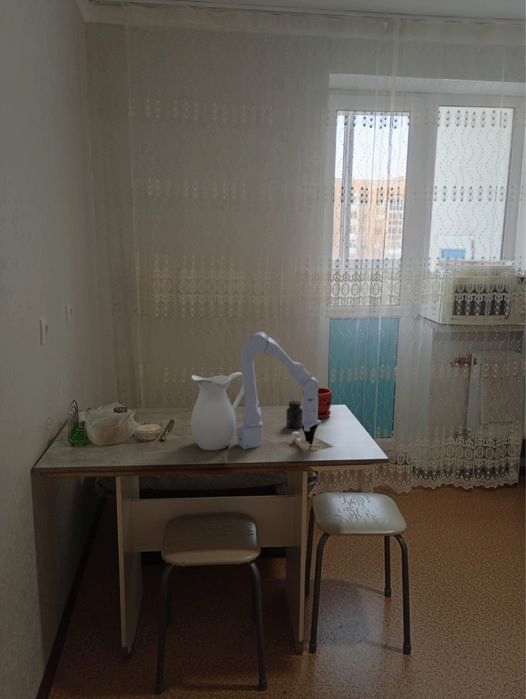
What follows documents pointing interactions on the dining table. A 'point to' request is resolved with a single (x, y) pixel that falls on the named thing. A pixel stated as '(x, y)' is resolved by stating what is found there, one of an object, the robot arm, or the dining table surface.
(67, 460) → the dining table surface
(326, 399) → the plant pot
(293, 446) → the brown wooden board
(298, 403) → the supplement bottle
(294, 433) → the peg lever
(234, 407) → the pitcher
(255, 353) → the robot arm
